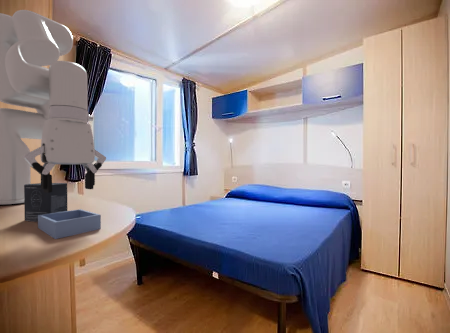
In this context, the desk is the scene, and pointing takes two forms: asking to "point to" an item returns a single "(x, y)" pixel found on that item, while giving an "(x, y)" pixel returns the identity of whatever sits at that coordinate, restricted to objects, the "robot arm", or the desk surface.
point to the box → (44, 200)
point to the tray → (69, 223)
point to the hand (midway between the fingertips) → (69, 190)
